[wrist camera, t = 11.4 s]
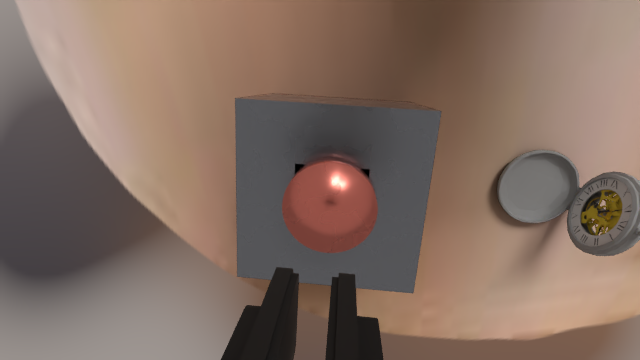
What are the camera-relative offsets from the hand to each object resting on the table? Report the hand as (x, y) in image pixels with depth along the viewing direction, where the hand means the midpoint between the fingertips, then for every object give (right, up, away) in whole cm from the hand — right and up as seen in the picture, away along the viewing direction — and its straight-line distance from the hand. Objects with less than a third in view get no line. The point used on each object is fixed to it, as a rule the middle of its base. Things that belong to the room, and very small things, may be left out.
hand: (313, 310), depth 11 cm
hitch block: (+2, +6, +20) cm, 21 cm away
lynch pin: (+2, +6, +20) cm, 21 cm away
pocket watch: (+20, +3, +20) cm, 29 cm away
